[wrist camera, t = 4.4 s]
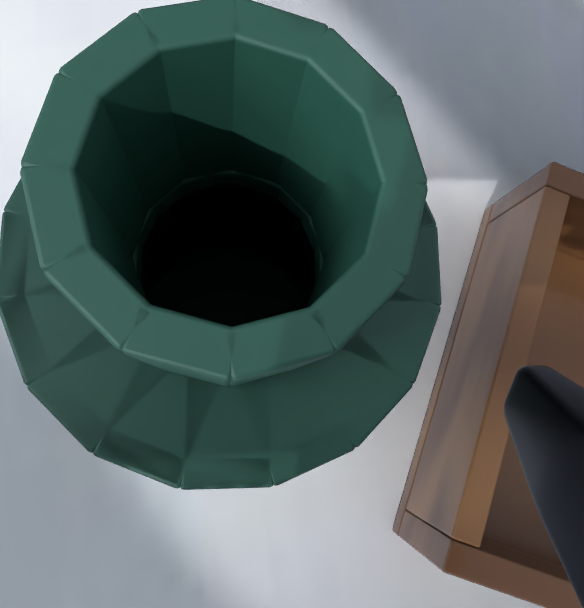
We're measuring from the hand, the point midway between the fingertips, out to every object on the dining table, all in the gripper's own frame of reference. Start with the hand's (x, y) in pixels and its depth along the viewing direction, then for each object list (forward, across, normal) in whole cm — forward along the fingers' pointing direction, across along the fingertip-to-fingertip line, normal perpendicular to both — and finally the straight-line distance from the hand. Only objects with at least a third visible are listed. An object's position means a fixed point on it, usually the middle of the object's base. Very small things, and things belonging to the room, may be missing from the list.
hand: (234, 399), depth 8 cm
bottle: (+8, 0, +5) cm, 9 cm away
